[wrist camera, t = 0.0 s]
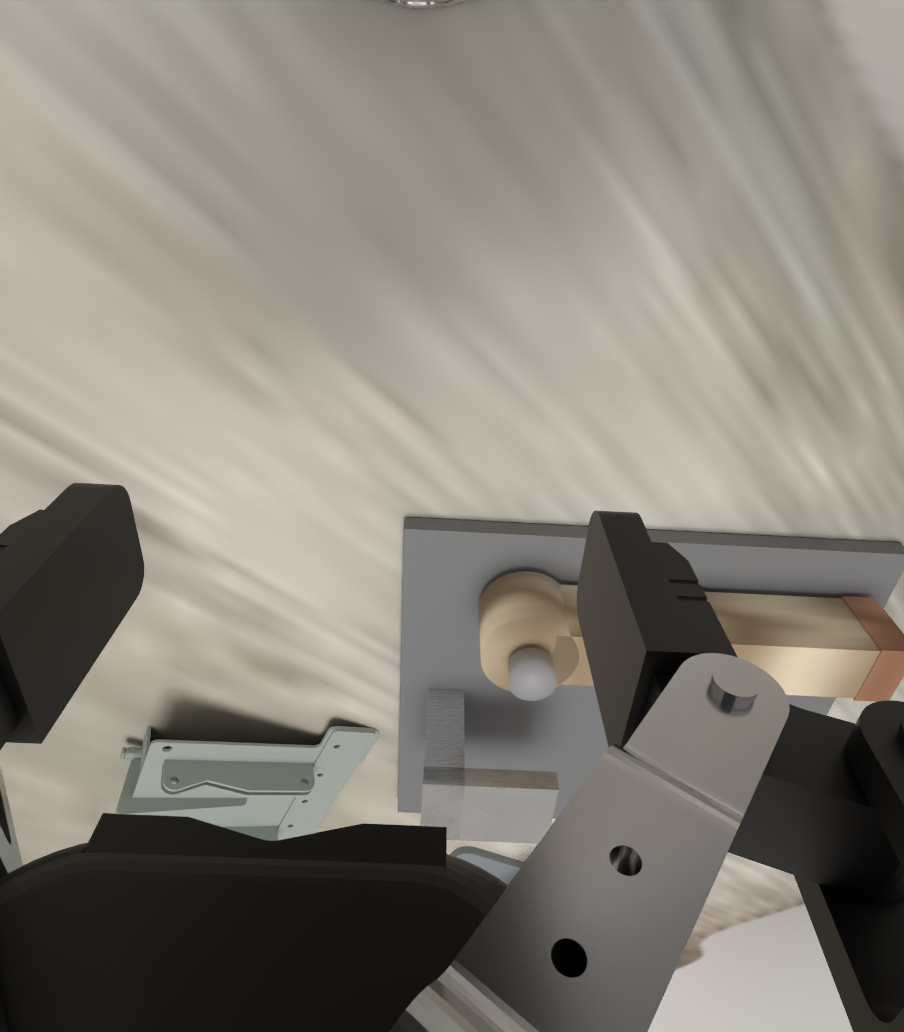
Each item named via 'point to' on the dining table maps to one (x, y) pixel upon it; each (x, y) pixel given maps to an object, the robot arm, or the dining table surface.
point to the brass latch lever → (745, 619)
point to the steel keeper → (478, 785)
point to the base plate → (559, 556)
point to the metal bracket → (244, 781)
